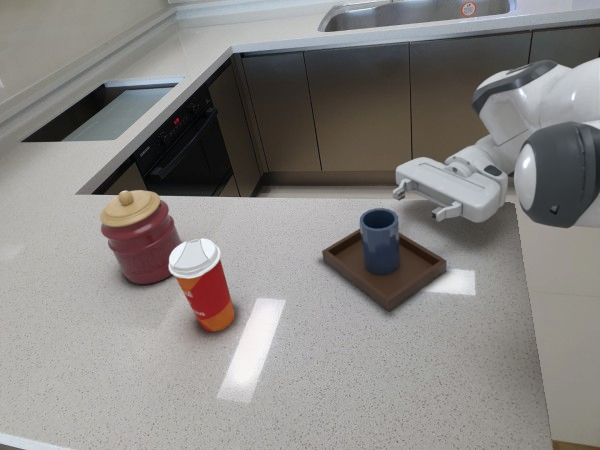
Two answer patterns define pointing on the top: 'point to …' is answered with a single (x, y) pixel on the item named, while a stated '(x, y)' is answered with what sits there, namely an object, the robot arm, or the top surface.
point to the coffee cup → (203, 282)
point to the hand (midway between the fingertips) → (414, 206)
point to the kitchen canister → (140, 235)
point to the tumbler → (380, 241)
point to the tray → (393, 287)
